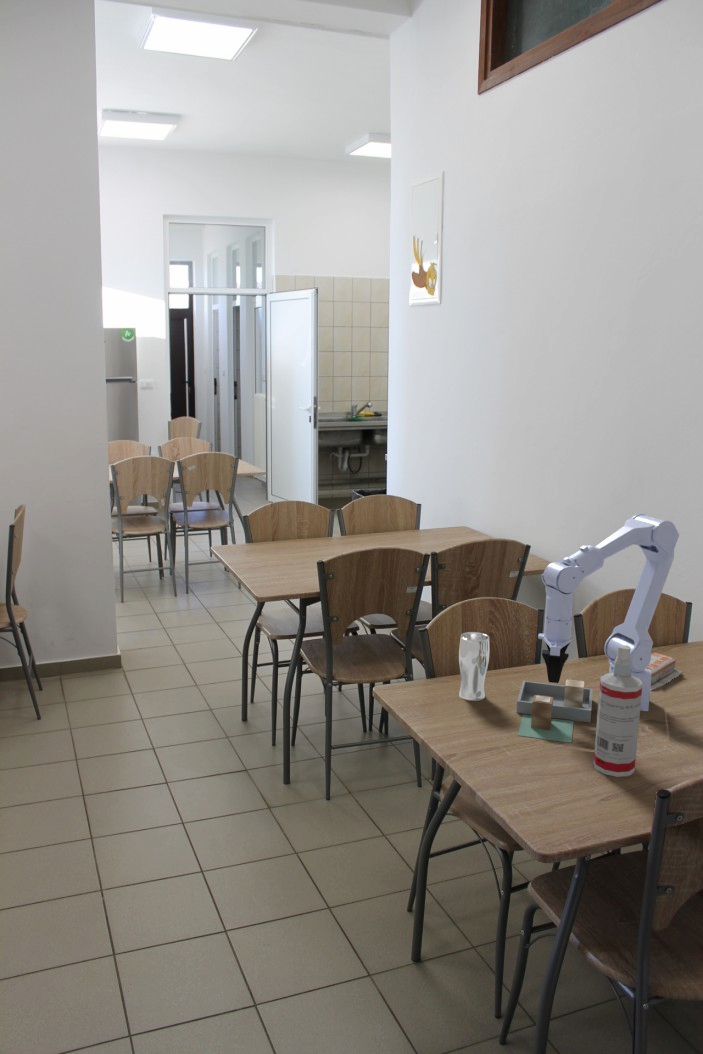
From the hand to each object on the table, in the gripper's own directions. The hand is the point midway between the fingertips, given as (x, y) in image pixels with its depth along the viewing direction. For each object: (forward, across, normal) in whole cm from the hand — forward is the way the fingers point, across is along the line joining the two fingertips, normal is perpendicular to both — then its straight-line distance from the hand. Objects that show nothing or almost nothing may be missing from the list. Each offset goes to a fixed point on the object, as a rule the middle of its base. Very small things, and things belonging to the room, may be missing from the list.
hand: (554, 675), depth 197 cm
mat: (+9, +9, -1) cm, 13 cm away
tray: (+9, -4, 0) cm, 10 cm away
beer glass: (+9, -4, -19) cm, 21 cm away
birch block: (+9, -4, +4) cm, 11 cm away
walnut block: (+9, +8, -2) cm, 12 cm away
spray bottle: (+9, +22, +13) cm, 27 cm away
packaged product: (+10, -31, +22) cm, 39 cm away
